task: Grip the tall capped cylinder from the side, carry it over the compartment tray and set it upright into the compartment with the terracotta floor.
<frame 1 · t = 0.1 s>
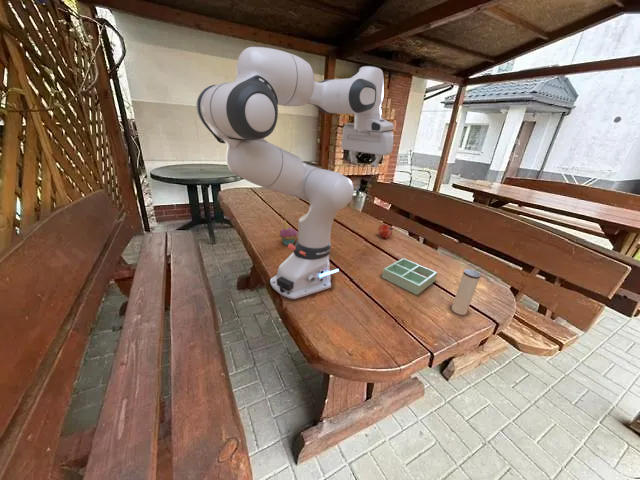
hand: (364, 165, 95), 39 cm above the table, tool pointing down, fingers open, 8 cm apart
compartment tray: (408, 279, 99), on the table
capped cylinder: (458, 310, 84), on the table
pomegranate: (383, 237, 135), on the table
cupcake: (288, 243, 121), on the table
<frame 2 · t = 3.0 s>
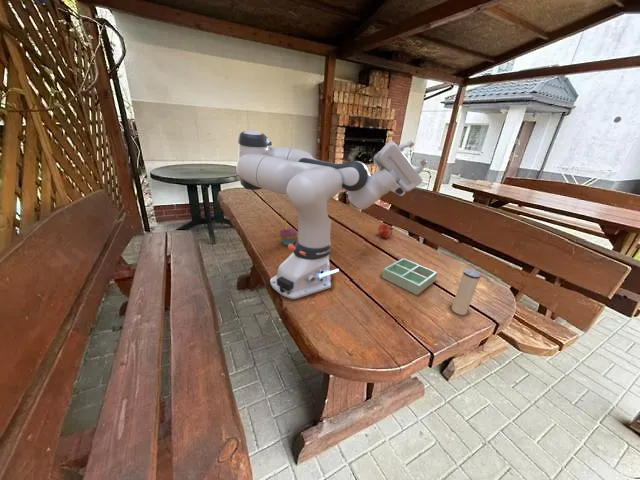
hand: (419, 151, 92), 45 cm above the table, tool pointing upward, fingers open, 8 cm apart
nothing on the table moved.
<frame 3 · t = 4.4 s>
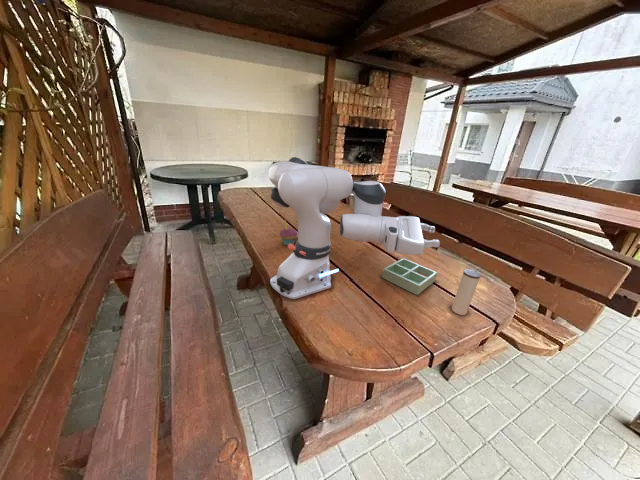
hand: (436, 236, 79), 23 cm above the table, tool horizontal, fingers open, 8 cm apart
nothing on the table moved.
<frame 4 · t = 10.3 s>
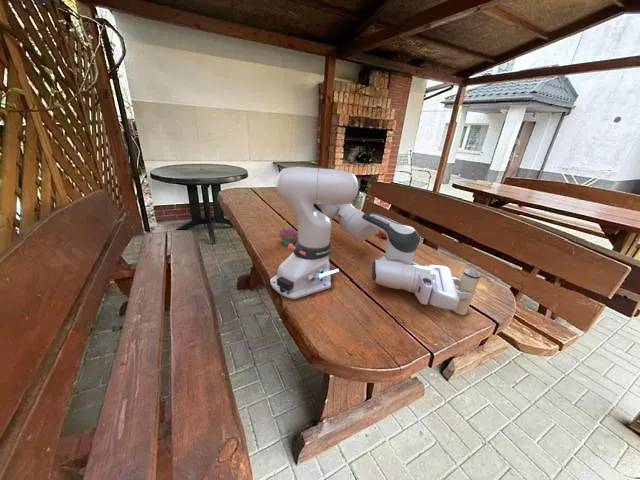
hand: (469, 290, 80), 8 cm above the table, tool horizontal, fingers closed on capped cylinder, 4 cm apart
capped cylinder: (458, 310, 84), on the table, touching gripper
everything else where it was.
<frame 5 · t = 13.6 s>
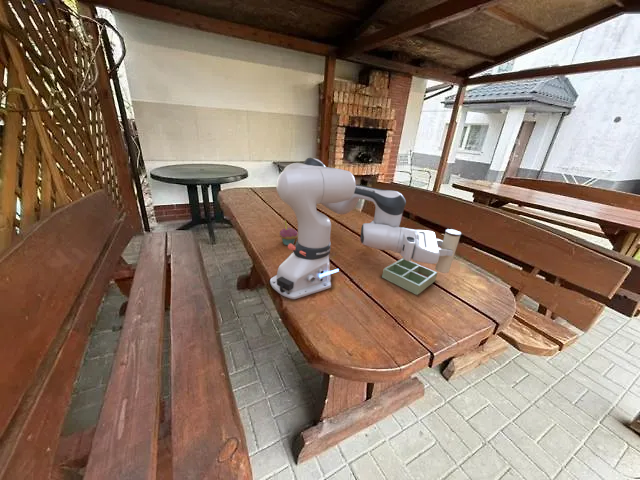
hand: (451, 249, 85), 17 cm above the table, tool horizontal, fingers closed on capped cylinder, 4 cm apart
capped cylinder: (442, 270, 89), point 9 cm above the table, touching gripper
everything else where it was.
when the fingers open (9 cm above the table, at t = 17.2 s): capped cylinder stays where it is, resting on compartment tray.
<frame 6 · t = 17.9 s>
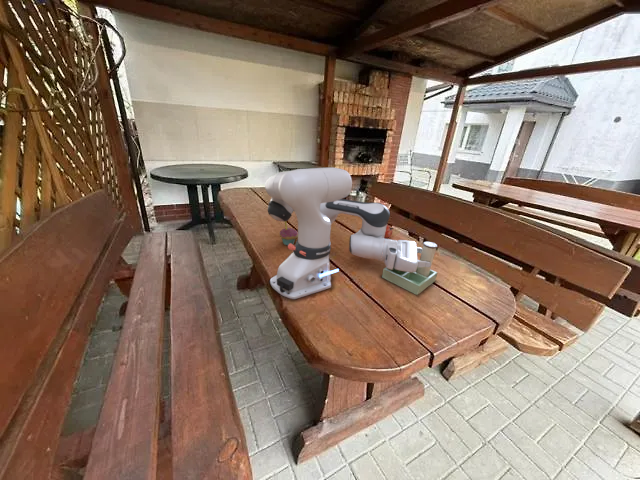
hand: (429, 258, 95), 9 cm above the table, tool horizontal, fingers open, 8 cm apart
capped cylinder: (421, 277, 99), point 1 cm above the table, touching compartment tray
everything else where it was.
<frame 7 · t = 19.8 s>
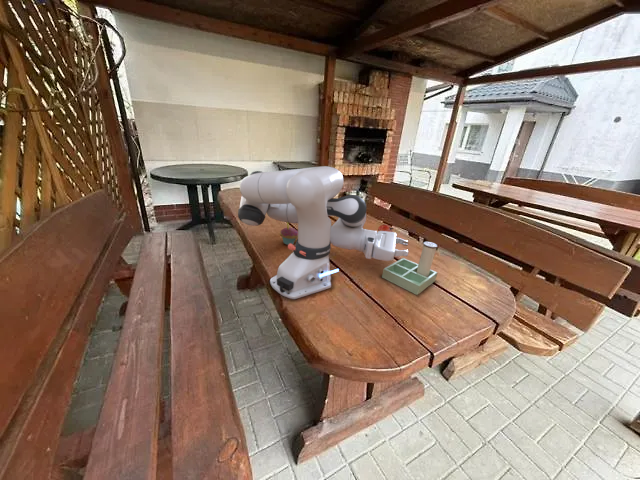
hand: (408, 248, 96), 12 cm above the table, tool horizontal, fingers open, 8 cm apart
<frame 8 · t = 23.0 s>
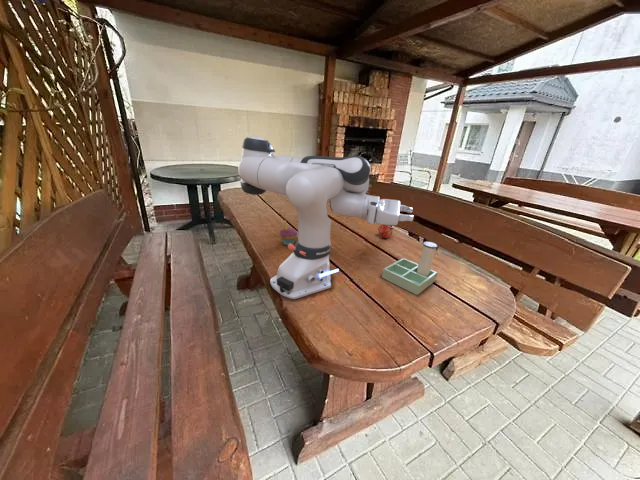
hand: (412, 214, 91), 25 cm above the table, tool horizontal, fingers open, 8 cm apart
at the end: capped cylinder 0.1 cm from the target spot in the compartment tray, point 1.0 cm above the compartment tray's base; capped cylinder tilted 0°; the gripper is holding nothing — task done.
